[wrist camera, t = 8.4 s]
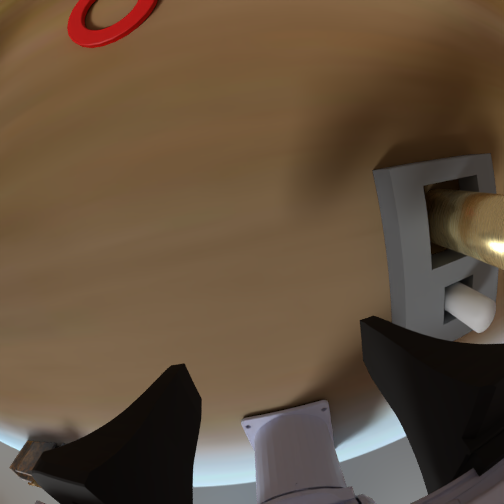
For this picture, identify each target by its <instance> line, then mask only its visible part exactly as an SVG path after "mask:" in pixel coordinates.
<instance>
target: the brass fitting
mask: <svg viewBox="0 0 504 504" xmlns="http://www.w3.org/2000/svg"><path fill="white" fill-rule="evenodd" d="M425 201H426V209H427V216H428V225H429V235H430V242H432V243H434V244H437V245H440V246H443V247H446V248H448V249H451V250H454V251H456V252H459V253H462V254H464V255H467V256H470V257H472V258H475V259H477V260H480V261H482V262H485V263H487V264H490V265H492V266H495V267H497V268H500V269H502V270H504V195H501V194H492V193H483V192H473V191H461V190H448V189H433V190H431V191H429V192H428V193H427V194H426V195H425Z"/></svg>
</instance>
